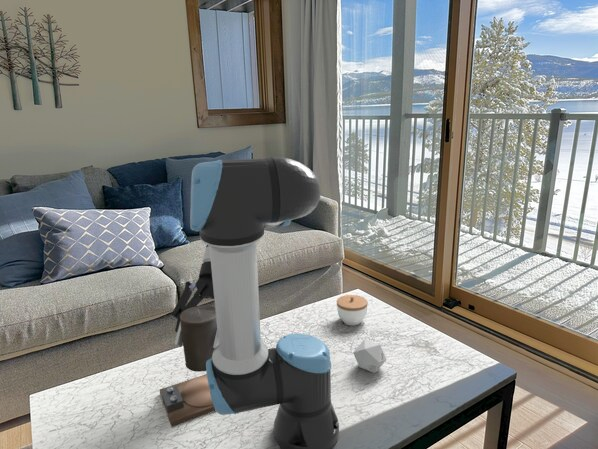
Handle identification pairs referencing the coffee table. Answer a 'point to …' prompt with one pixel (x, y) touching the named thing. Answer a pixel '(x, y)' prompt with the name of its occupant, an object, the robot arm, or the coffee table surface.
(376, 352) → the die
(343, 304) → the lidded jar
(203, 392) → the board
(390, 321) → the coffee table surface
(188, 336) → the pillar candle
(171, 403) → the dark grey studded block
